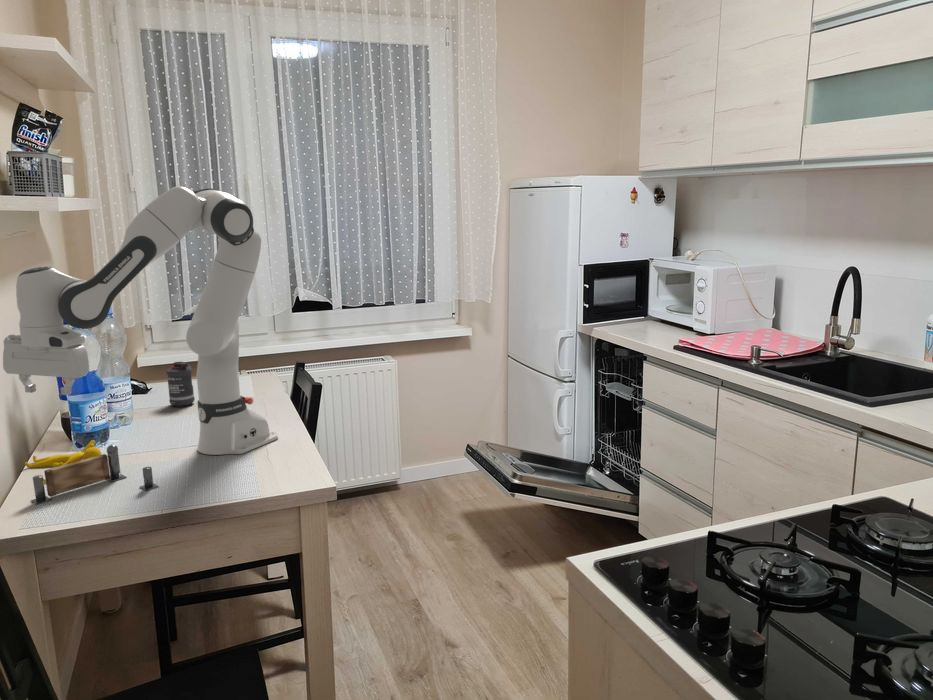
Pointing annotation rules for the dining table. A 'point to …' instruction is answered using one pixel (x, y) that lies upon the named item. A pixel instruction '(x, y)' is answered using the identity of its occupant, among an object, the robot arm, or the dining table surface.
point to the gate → (77, 475)
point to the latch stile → (39, 490)
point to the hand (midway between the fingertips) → (48, 393)
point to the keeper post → (148, 479)
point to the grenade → (180, 384)
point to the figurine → (66, 457)
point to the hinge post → (114, 463)
